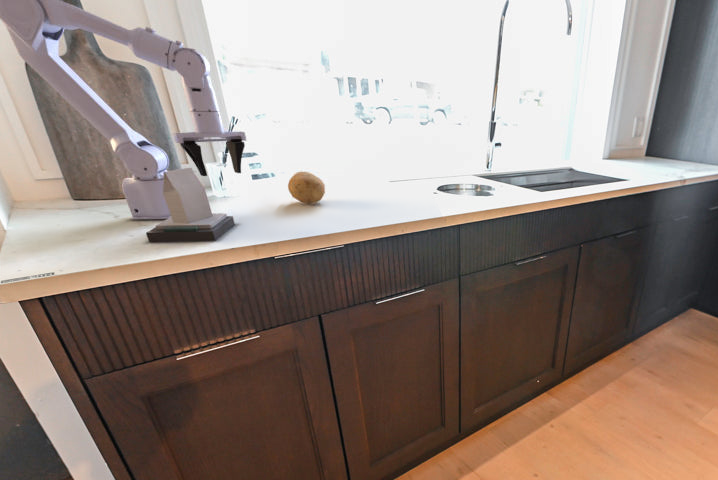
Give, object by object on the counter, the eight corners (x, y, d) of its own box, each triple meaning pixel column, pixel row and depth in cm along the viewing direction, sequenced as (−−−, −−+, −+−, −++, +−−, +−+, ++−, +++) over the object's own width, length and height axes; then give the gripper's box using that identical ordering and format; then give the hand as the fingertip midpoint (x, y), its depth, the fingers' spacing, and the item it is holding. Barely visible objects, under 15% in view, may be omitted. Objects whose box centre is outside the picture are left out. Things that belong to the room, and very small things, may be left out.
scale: (149, 242, 86) (144, 228, 84) (176, 225, 97) (172, 213, 95) (215, 240, 88) (211, 227, 87) (235, 224, 99) (231, 212, 98)
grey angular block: (212, 215, 94) (198, 168, 90) (188, 223, 89) (172, 172, 84) (197, 214, 95) (183, 167, 90) (172, 222, 89) (155, 171, 84)
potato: (293, 209, 113) (287, 178, 110) (289, 199, 124) (283, 170, 120) (331, 207, 118) (327, 176, 114) (324, 197, 128) (320, 169, 125)
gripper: (231, 110, 104) (245, 169, 111) (161, 110, 94) (181, 174, 101) (243, 112, 100) (257, 172, 107) (172, 111, 90) (192, 178, 97)
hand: (221, 174), depth 103 cm, fingers open, 7 cm apart
